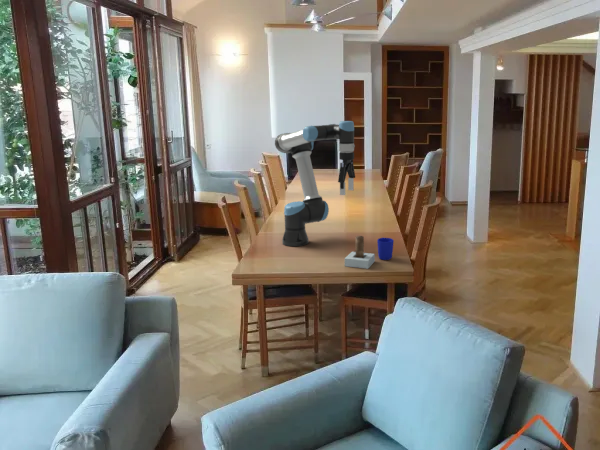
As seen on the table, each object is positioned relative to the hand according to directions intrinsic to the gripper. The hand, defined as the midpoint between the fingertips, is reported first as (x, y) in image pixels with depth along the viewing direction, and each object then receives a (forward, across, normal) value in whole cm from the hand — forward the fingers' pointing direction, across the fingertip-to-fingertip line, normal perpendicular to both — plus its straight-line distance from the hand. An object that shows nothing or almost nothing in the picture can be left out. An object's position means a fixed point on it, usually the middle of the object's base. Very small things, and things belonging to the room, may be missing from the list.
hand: (346, 192), depth 269 cm
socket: (+33, -16, -12) cm, 38 cm away
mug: (+33, -2, -21) cm, 39 cm away
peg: (+33, -16, -12) cm, 38 cm away
